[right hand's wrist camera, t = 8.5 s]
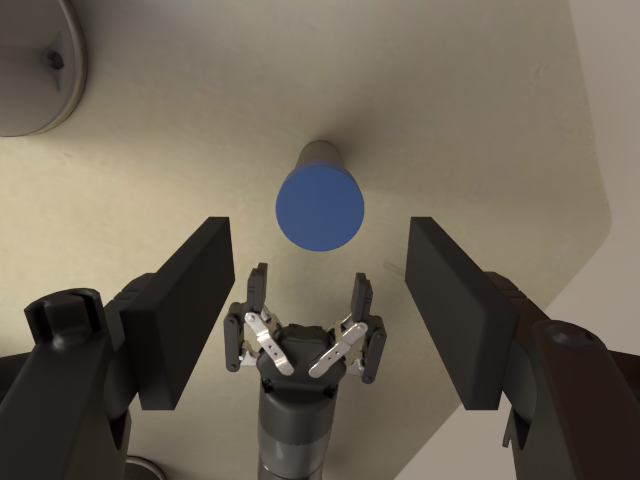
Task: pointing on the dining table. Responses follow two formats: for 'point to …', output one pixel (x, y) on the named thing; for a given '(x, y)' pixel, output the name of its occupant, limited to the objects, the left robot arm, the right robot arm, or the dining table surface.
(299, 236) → the lid
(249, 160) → the dining table surface
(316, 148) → the grey cylinder
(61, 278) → the dining table surface
